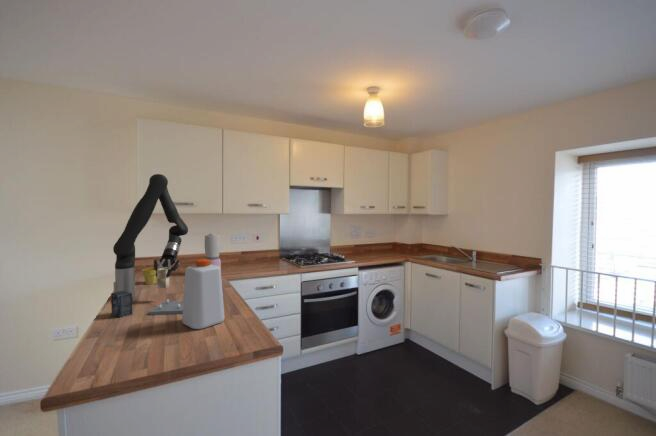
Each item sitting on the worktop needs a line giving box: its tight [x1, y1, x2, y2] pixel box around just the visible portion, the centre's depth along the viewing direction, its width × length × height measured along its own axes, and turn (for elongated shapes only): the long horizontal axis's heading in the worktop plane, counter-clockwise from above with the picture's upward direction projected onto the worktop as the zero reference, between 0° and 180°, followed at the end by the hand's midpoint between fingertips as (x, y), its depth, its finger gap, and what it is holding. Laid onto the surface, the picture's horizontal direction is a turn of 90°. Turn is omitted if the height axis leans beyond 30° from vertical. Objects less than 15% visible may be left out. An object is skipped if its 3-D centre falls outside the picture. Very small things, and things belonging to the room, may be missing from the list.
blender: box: [204, 232, 222, 270], centre depth 234 cm, size 16×12×32 cm
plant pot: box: [141, 267, 157, 285], centre depth 206 cm, size 10×10×10 cm
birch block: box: [156, 267, 170, 289], centre depth 165 cm, size 4×4×10 cm
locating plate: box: [148, 299, 184, 316], centre depth 152 cm, size 16×16×4 cm
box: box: [110, 291, 133, 318], centre depth 144 cm, size 8×6×11 cm
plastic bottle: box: [181, 258, 225, 330], centre depth 134 cm, size 15×15×28 cm
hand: (162, 276), depth 163 cm, fingers closed on birch block, 4 cm apart
